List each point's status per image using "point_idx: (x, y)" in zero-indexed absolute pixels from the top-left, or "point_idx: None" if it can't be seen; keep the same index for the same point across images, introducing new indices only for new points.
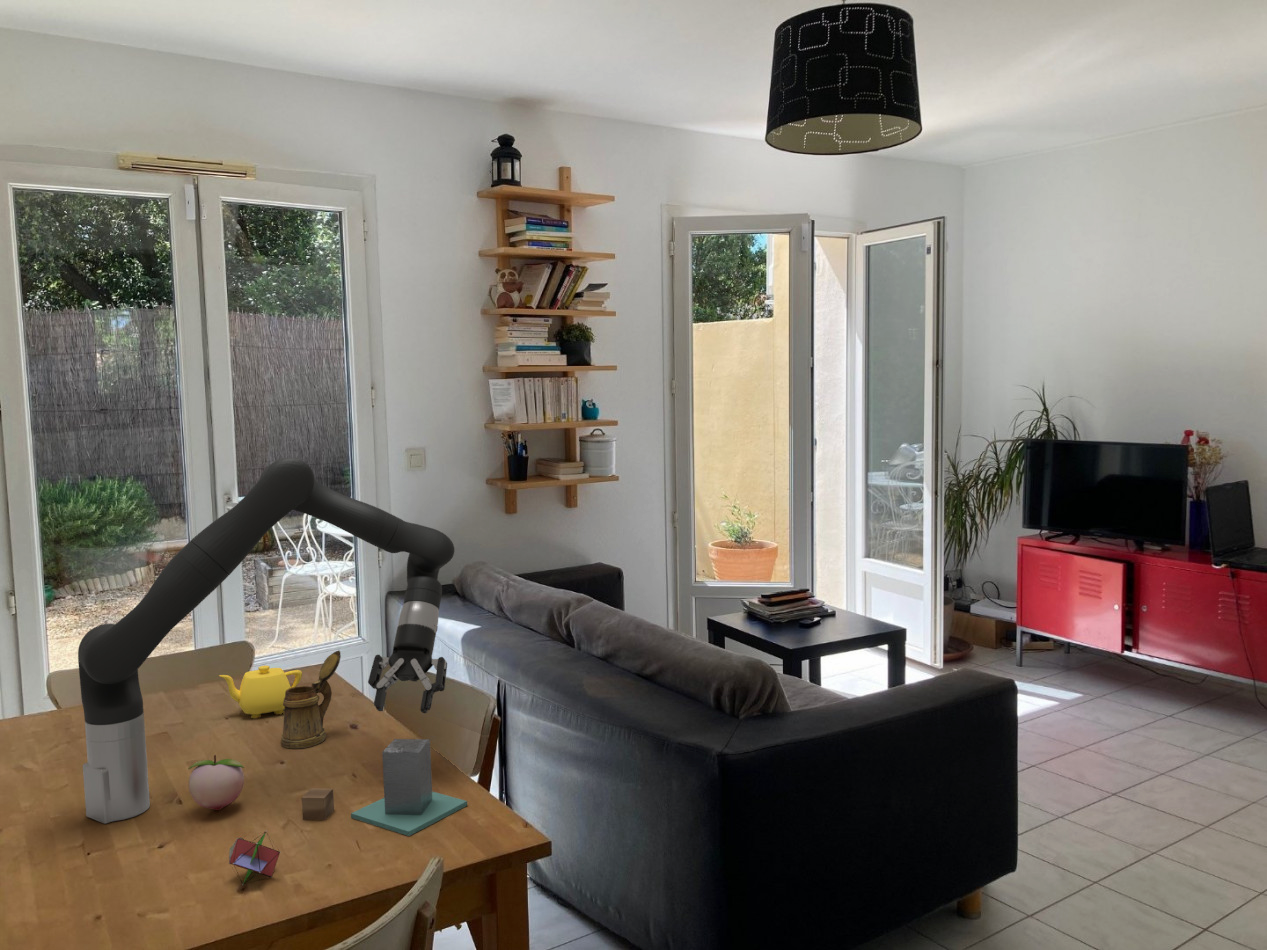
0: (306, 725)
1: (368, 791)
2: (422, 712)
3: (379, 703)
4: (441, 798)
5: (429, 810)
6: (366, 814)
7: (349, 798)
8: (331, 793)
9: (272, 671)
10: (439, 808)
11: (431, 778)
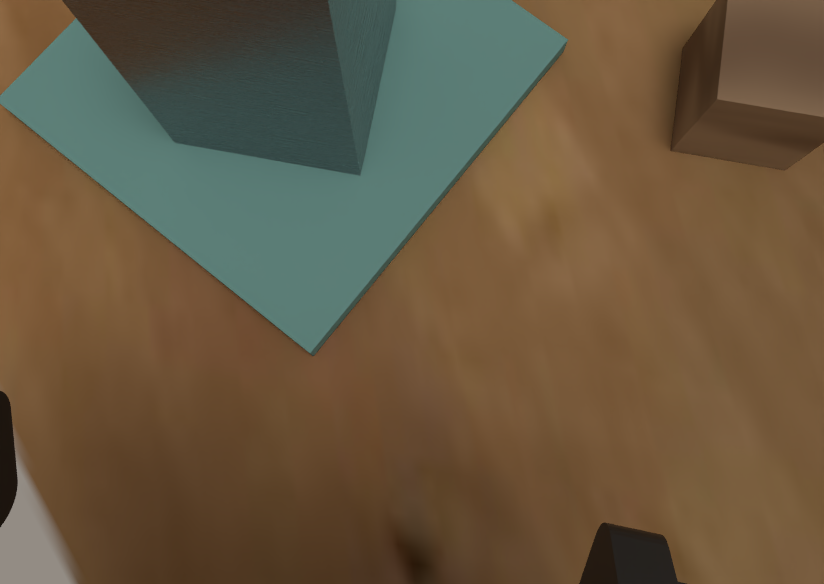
0: None
1: (546, 366)
2: (10, 458)
3: (625, 560)
4: (128, 149)
5: None
6: (487, 17)
7: (629, 285)
8: (712, 83)
9: None
10: None
11: (131, 85)
